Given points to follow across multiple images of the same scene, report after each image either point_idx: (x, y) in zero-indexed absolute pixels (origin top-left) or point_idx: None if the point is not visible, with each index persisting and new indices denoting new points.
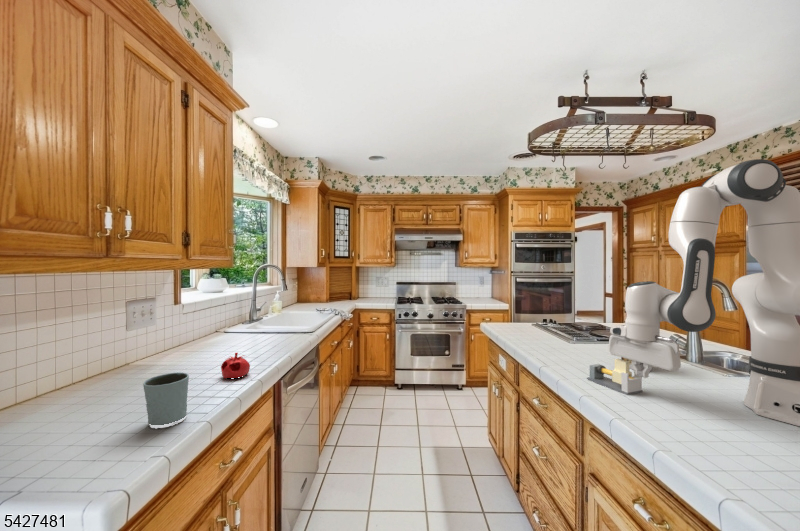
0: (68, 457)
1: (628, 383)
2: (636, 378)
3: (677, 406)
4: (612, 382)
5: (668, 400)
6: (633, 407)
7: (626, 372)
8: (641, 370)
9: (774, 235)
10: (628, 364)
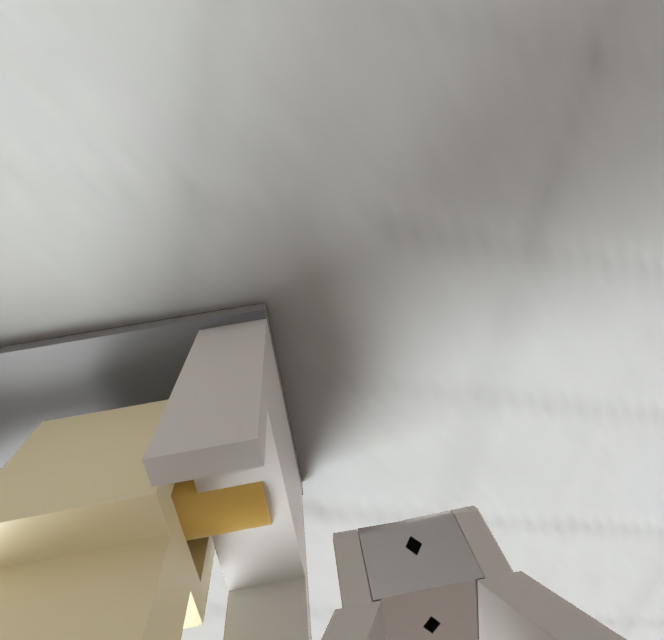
0: None
1: (302, 547)
2: (265, 459)
3: (603, 280)
4: (12, 438)
5: (493, 236)
6: None
7: (186, 594)
8: (419, 623)
9: None
10: None
